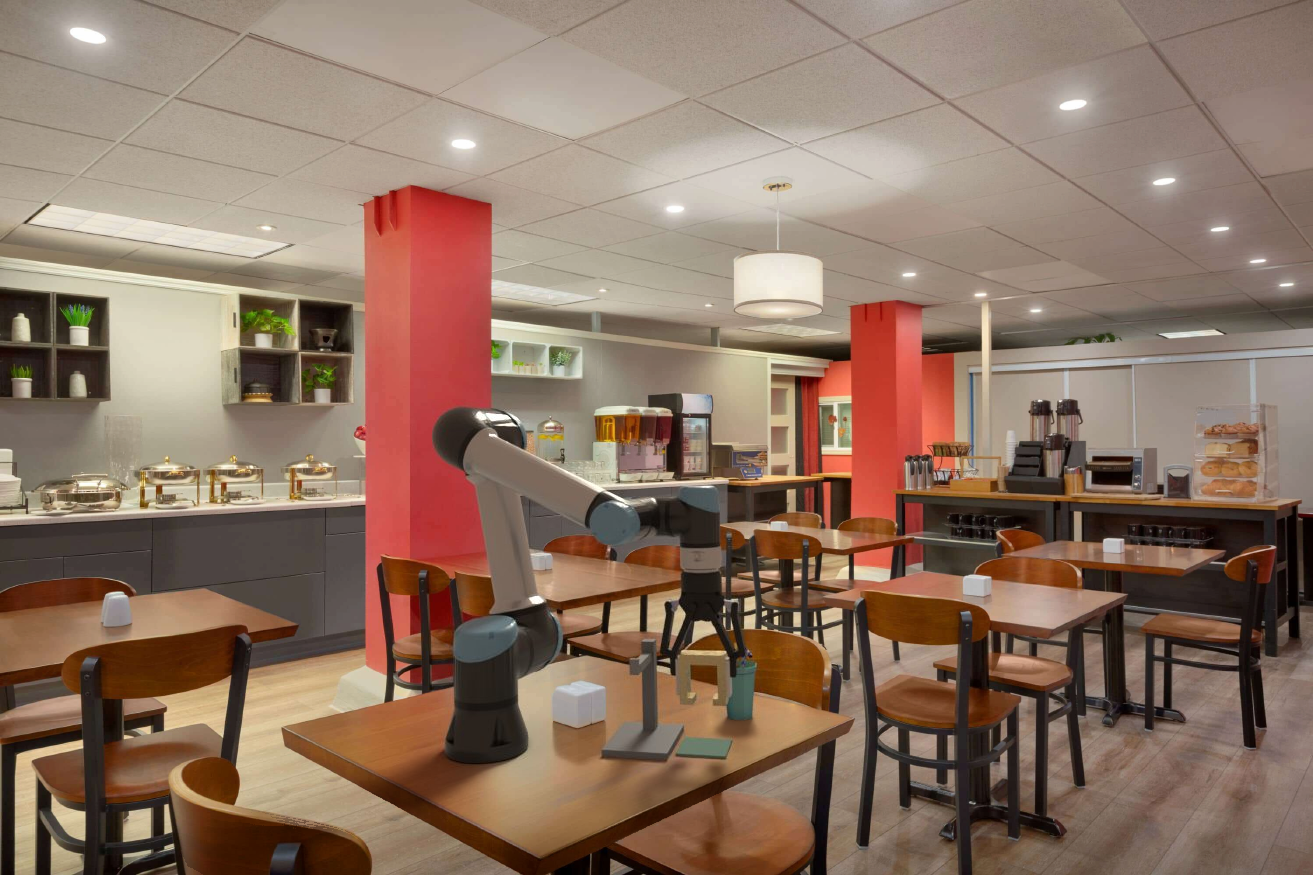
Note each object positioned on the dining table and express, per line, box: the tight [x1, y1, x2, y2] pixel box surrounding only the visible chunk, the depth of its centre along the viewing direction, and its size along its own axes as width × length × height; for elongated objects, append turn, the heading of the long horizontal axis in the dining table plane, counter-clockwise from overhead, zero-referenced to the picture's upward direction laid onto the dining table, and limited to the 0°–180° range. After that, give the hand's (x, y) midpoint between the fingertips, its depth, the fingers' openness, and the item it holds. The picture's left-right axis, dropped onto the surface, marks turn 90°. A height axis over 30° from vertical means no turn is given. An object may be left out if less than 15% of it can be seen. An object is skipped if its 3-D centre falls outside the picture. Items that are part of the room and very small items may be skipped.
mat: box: [675, 736, 733, 759], centre depth 151 cm, size 9×9×1 cm
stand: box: [600, 638, 685, 761], centre depth 155 cm, size 12×16×18 cm
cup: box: [725, 642, 758, 721], centre depth 169 cm, size 14×8×15 cm, turn 12°
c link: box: [678, 649, 729, 707], centre depth 151 cm, size 8×4×9 cm, turn 77°
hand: (704, 693), depth 151 cm, fingers closed on c link, 8 cm apart
